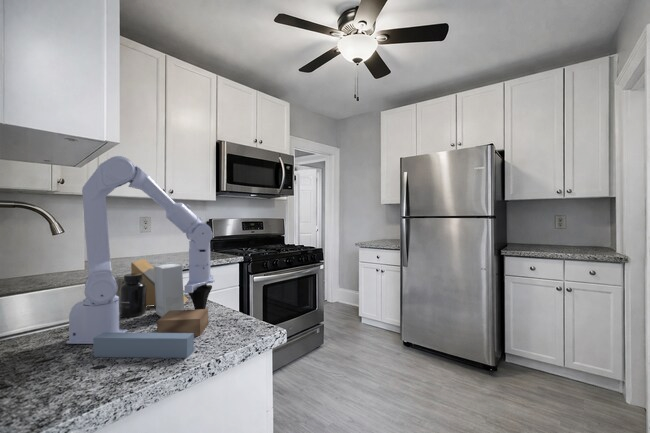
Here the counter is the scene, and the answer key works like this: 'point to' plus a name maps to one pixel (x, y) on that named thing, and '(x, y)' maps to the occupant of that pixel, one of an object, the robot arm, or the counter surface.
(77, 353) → the counter surface
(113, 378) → the counter surface
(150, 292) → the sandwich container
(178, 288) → the skincare box
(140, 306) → the supplement bottle
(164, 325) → the walnut block
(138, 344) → the slate block
